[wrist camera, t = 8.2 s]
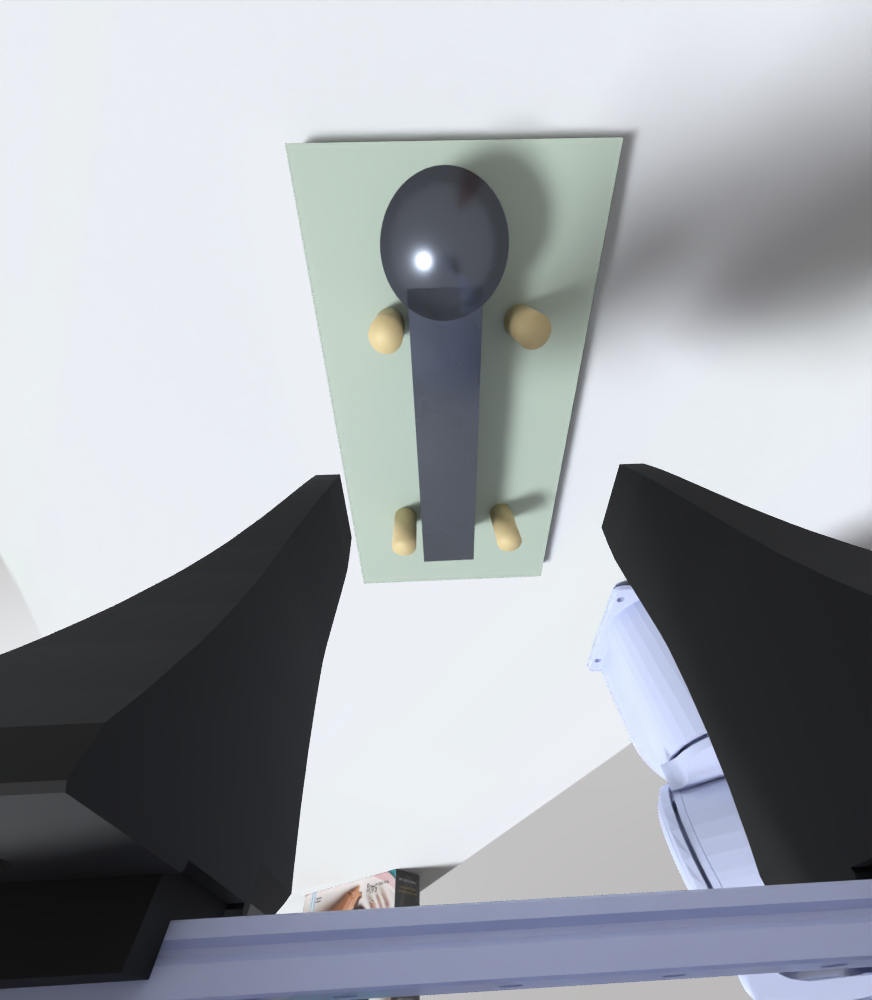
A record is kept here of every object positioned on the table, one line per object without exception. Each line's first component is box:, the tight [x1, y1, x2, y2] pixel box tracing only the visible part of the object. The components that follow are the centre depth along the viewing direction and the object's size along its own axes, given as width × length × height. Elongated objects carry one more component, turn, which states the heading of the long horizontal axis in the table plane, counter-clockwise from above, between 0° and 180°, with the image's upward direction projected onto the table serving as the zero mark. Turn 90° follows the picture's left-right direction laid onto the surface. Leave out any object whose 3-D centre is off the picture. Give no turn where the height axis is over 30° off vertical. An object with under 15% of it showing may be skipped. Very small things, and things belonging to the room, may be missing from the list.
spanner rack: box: [285, 137, 623, 583], centre depth 17 cm, size 20×11×4 cm, turn 1°
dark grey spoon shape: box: [380, 165, 509, 562], centre depth 16 cm, size 15×4×3 cm, turn 2°
